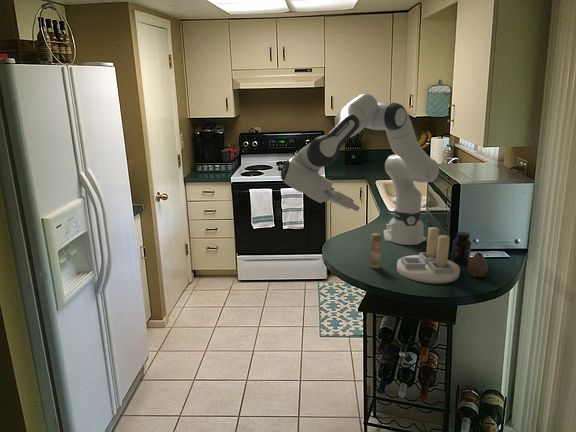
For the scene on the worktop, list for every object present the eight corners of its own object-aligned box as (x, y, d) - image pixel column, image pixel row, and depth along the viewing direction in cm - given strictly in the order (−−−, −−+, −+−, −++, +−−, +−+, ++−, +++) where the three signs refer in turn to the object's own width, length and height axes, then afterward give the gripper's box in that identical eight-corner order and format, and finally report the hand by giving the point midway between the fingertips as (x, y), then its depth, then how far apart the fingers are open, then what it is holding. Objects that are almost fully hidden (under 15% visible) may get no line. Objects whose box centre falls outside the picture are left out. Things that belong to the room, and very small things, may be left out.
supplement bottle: (447, 260, 198) (450, 231, 194) (460, 257, 200) (463, 230, 197) (459, 265, 192) (462, 236, 188) (472, 263, 194) (476, 234, 191)
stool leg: (368, 264, 192) (370, 233, 188) (378, 264, 192) (380, 233, 188) (370, 268, 188) (372, 236, 184) (381, 268, 188) (383, 236, 185)
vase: (472, 271, 186) (475, 249, 184) (489, 276, 181) (492, 254, 179) (463, 275, 182) (465, 253, 179) (480, 280, 177) (483, 258, 174)
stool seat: (389, 261, 195) (392, 224, 191) (445, 260, 197) (449, 223, 193) (407, 283, 173) (410, 242, 169) (469, 282, 175) (474, 241, 171)
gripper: (335, 184, 163) (368, 203, 167) (317, 179, 183) (347, 196, 187) (326, 201, 163) (360, 219, 167) (309, 194, 183) (339, 211, 187)
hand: (353, 207), depth 177 cm, fingers open, 8 cm apart
